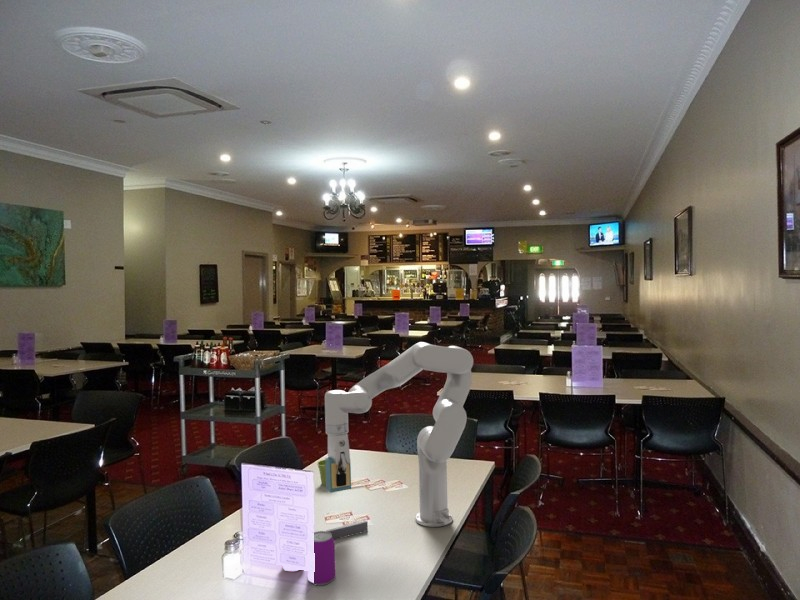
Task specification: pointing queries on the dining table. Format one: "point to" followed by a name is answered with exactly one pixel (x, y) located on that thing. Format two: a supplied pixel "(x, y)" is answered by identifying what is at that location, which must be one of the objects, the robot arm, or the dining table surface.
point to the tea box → (331, 476)
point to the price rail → (348, 529)
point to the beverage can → (324, 557)
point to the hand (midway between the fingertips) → (338, 482)
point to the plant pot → (322, 471)
